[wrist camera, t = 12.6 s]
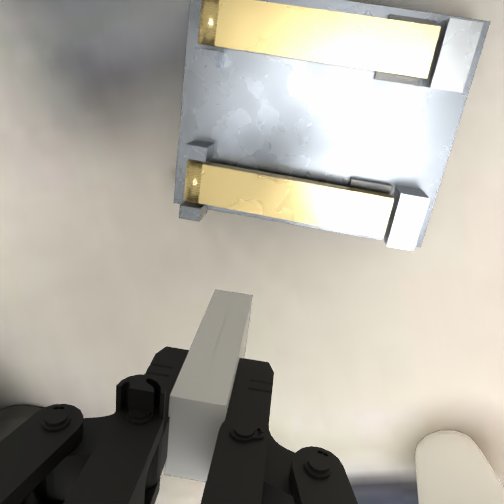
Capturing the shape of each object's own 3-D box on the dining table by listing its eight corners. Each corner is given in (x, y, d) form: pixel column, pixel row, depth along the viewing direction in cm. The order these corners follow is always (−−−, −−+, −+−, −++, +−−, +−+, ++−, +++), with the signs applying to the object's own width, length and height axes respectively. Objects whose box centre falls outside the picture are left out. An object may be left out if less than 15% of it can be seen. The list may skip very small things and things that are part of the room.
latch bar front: (201, 44, 32) (194, 42, 30) (205, -5, 31) (199, -9, 29) (422, 78, 30) (427, 78, 29) (436, 28, 29) (441, 26, 28)
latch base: (186, 194, 41) (162, 216, 34) (205, -16, 34) (180, -36, 28) (410, 234, 39) (427, 264, 33) (472, 22, 33) (508, 10, 27)
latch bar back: (187, 195, 36) (180, 200, 34) (190, 158, 35) (184, 161, 33) (381, 232, 34) (383, 239, 33) (391, 194, 33) (394, 199, 32)
